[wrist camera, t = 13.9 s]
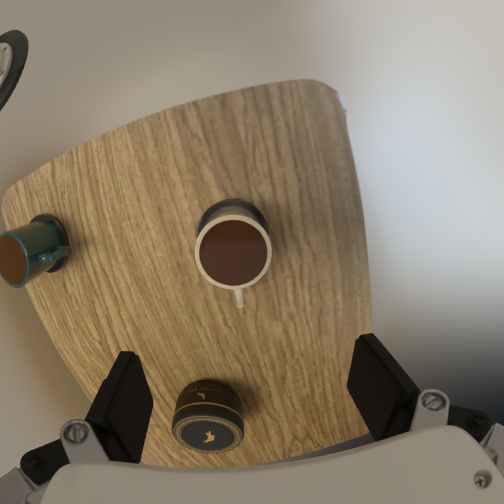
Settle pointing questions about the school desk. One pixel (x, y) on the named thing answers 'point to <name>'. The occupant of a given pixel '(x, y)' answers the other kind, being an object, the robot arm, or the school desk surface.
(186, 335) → the school desk surface
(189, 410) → the jar
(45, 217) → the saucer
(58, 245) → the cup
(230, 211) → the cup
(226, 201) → the dark grey round coaster
